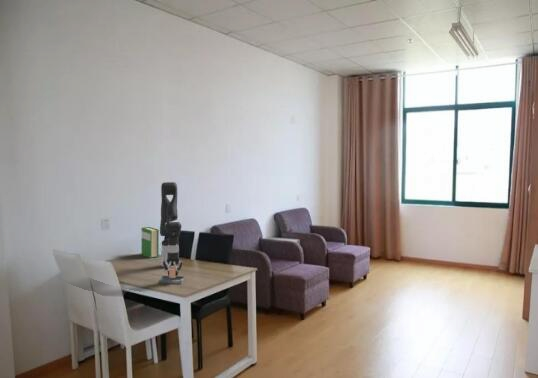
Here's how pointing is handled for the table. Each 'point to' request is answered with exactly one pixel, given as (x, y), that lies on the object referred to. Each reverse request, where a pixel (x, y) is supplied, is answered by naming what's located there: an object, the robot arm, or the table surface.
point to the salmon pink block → (172, 272)
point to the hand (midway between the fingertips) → (172, 275)
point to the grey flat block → (171, 280)
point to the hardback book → (150, 242)
